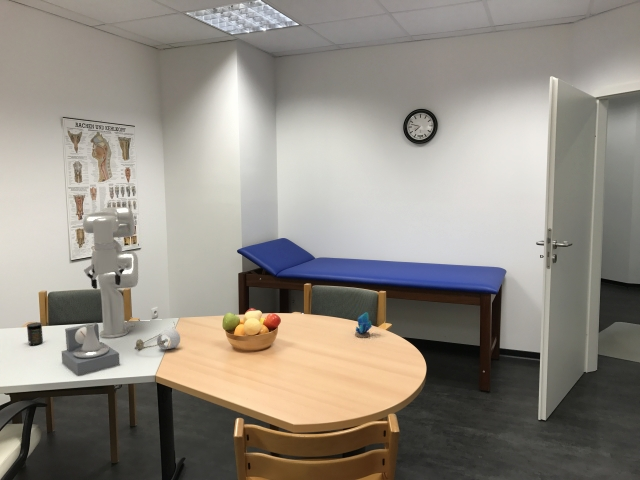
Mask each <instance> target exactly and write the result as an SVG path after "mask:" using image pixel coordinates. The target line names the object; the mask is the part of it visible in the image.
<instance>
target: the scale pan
mask: <svg viewBox="0 0 640 480" xmlns="http://www.w3.org/2000/svg"><path fill="white" fill-rule="evenodd" d="M101 346H102V348H101V349H99V350H97V351H94V352H84V351H81V349H82V347H79V348H77V349H75V350H74V351H73V355H74V356H75V357H77V358H92V357H97V356H101V355H104V354H106V353H107V352H108V351H109V347H110V346H109V345H107V344H106V345H103V344H101ZM108 346H109V347H108Z"/></svg>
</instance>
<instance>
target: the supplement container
mask: <svg viewBox="0 0 640 480" xmlns="http://www.w3.org/2000/svg"><path fill="white" fill-rule="evenodd" d="M26 330H27V343H28V345H29V346H33V347H34V346H40V345H42V344H43V343H44V337H43V336H44V335H43V324H42V322H30V323H27V324H26Z"/></svg>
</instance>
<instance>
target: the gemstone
mask: <svg viewBox="0 0 640 480" xmlns="http://www.w3.org/2000/svg"><path fill="white" fill-rule="evenodd" d="M369 316H370V315H369V313H368V312H367V311H366V312H364V313H362V314H361V315H360V316H358V317H357V325H358V326H357V325H356V327H355V333H354V336H355V337H356V338H359V339H367V338H369V337H370V336H371V333H370V332H369V330H370V329H371V328H372V325H373V324H372V321H371V320H369V318H370V317H369Z"/></svg>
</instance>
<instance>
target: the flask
mask: <svg viewBox="0 0 640 480" xmlns="http://www.w3.org/2000/svg"><path fill="white" fill-rule="evenodd" d="M88 324H89V325H86V324H85V325H86V326H85V327H86V337H85V340H84V343H83V346H82V349H81V351H84V352H94V351H97V350H99V349H101V348H102V346H101V344H100V343H99V342H100V340H99V341H98V339H97V337H96V334H95V331H94V326H95V325H93V324H91V323H88Z"/></svg>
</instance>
